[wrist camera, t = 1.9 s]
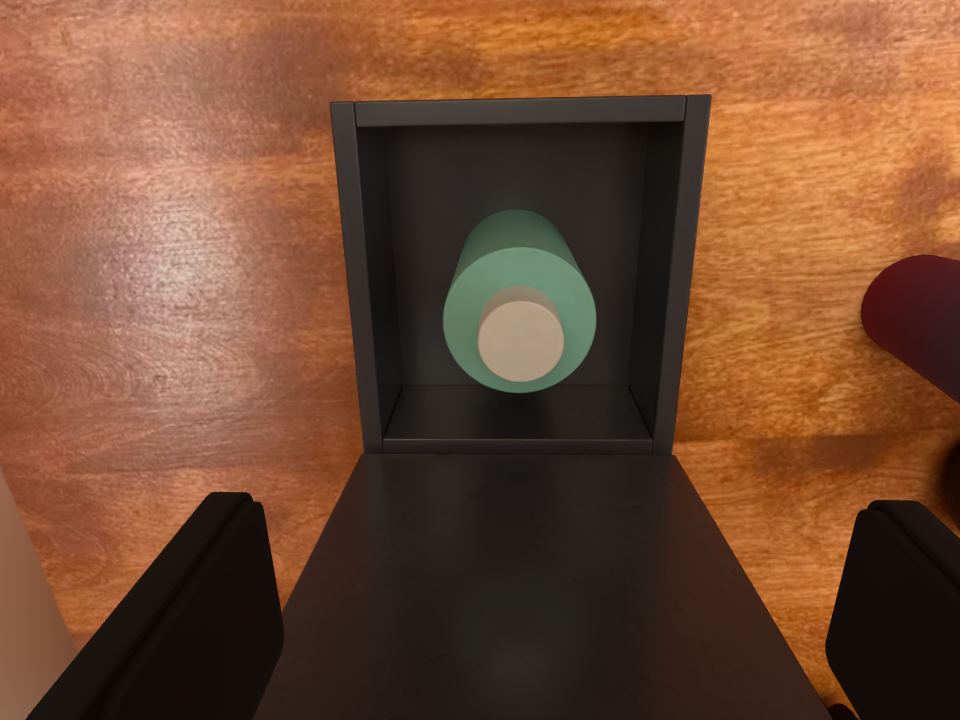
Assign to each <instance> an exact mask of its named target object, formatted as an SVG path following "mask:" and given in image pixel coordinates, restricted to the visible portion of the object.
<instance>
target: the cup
mask: <svg viewBox="0 0 960 720" xmlns="http://www.w3.org/2000/svg"><path fill="white" fill-rule="evenodd" d="M861 315H862V322H863V325H864V328H865V330H866V332H867V333H868V335H869V336H870V338H871V339H873V340H874V341H875V342H876V343H878V344H879V345H880V346H882V347H883V348H884V349H886V350H887V351H888V352H890V353H891V354H893V355H894V356H895V357H897V358H898V359H899V360H901V361H902V362H903V363H905V364H906V365H907V366H909V367H910V368H912V369H913V370H914V371H916V372H917V373H918V374H920V375H921V376H922V377H924V378H925V379H927V380H928V381H929V382H931V383H932V384H933V385H935V386H936V387H937V388H939V389H940V390H942V391H943V392H944V393H946V394H947V395H948V396H950V397H951V398H952V399H954V400H955V401H957V402H958V403H959V404H960V261H958V260H953V259H948V258H943V257H939V256H934V255H918V256H912V257H909V258H906V259H903V260H900V261H898V262H896V263H894V264H892V265H891V266H890V267H888V268H887V269H885V270H884V271H883V272H882V273H881V274H880V275H879V276H878V277H877V278H876V279H875V280H874V281H873V283H872V284H871V286H870V287H869V289H868V291H867V293H866V295H865V297H864V301H863V304H862V314H861Z"/></svg>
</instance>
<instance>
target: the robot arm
mask: <svg viewBox="0 0 960 720" xmlns="http://www.w3.org/2000/svg"><path fill="white" fill-rule="evenodd" d="M283 644H284V625H283V619H282V613H281V607H280V601H279V596H278V590H277V584H276V578H275V572H274V566H273V561H272V555H271V549H270V543H269V537H268V532H267V526H266V520H265V514H264V509H263V506H262V504H261V503H260V502H253V498H252V497H251V495H250V494H249V493H247V492H212V493H210V494H209V495H208V496H206V498H205V499H204V500H203V501H202V503H201V504H200V505H199V506H198V507H197V509H196V510H195V511H194V512H193V514H192V515H191V516H190V517H189V519H188V520H187V521H186V522H185V523H184V525H183V526H182V527H181V528H180V530H179V531H178V532H177V533H176V535H175V536H174V537H173V538H172V539H171V541H170V542H169V543H168V544H167V546H166V547H165V548H164V549H163V550H162V552H161V553H160V554H159V555H158V557H157V558H156V559H155V560H154V562H153V563H152V564H151V565H150V566H149V568H148V569H147V570H146V571H145V573H144V574H143V575H142V576H141V578H140V579H139V580H138V581H137V582H136V584H135V585H134V586H133V587H132V589H131V590H130V591H129V592H128V594H127V595H126V596H125V597H124V598H123V600H122V601H121V602H120V603H119V605H118V606H117V607H116V608H115V609H114V611H113V612H112V613H111V614H110V616H109V617H108V618H107V619H106V621H105V622H104V623H103V624H102V625H101V627H100V628H99V629H98V630H97V632H96V633H95V634H94V635H93V637H92V638H91V639H90V640H89V641H88V643H87V644H86V645H85V646H84V648H83V649H82V650H81V651H80V652H79V654H78V655H77V656H76V657H75V659H74V660H73V661H72V662H71V664H70V665H69V666H68V667H67V668H66V670H65V671H64V672H63V673H62V675H61V676H60V677H59V678H58V680H57V681H56V682H55V683H54V684H53V686H52V687H51V688H50V689H49V691H48V692H47V693H46V694H45V695H44V697H43V698H42V699H41V700H40V702H39V703H38V704H37V705H36V707H35V708H34V709H33V710H32V712H31V713H30V714H29V715H28V717H27V718H26V720H253V718H254V715H255V713H256V711H257V708H258V706H259V704H260V702H261V699H262V697H263V695H264V692H265V690H266V688H267V685H268V683H269V681H270V678H271V676H272V674H273V671H274V669H275V667H276V664H277V662H278V660H279V658H280V655H281V652H282V649H283ZM825 649H826V656H827V660H828V663H829V666H830V668H831V670H832V672H833V673H834V675H835V677H836V678H837V680H838V682H839V684H840V685H841V687H842V689H843V690H844V692H845V694H846V695H847V697H848V699H849V701H850V702H851V704H852V706H853V707H854V709H855V711H856V712H857V714H858V716H859V718H860V719H861V720H960V538H959V537H958V536H957V535H955V534H954V533H953V532H952V531H951V530H950V529H949V528H948V527H947V526H946V525H945V524H944V523H942V522H941V521H940V520H939V519H938V518H937V517H936V516H935V515H934V514H933V513H932V512H931V511H929V510H928V509H927V508H926V507H925V506H924V505H923V504H921V503H920V502H918V501H913V500H875V501H873V502H871V503H870V504H869V506H868V508H867V509H864V510H861V511H860V512H859V513H858V515H857V517H856V521H855V525H854V529H853V533H852V537H851V541H850V545H849V549H848V553H847V557H846V561H845V565H844V569H843V573H842V578H841V582H840V586H839V590H838V594H837V598H836V602H835V606H834V610H833V614H832V618H831V622H830V626H829V630H828V634H827V639H826V644H825Z"/></svg>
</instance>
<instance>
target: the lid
mask: <svg viewBox="0 0 960 720" xmlns="http://www.w3.org/2000/svg"><path fill="white" fill-rule="evenodd" d="M282 619H283V625H284V644H283V649H282V652H281V655H280V658H279V660H278V662H277V664H276V667H275V669H274V671H273V674H272V676H271V678H270V681H269V683H268V685H267V688H266V690H265V692H264V695H263V697H262V699H261V702H260V704H259V706H258V708H257V711H256V713H255V715H254V718H253V720H833V719H832V718H831V716H830V714H829V712H828V711H827V709H826V707H825V706H824V704H823V702H822V701H821V699H820V697H819V696H818V694H817V692H816V691H815V689H814V687H813V686H812V684H811V682H810V681H809V679H808V677H807V676H806V674H805V672H804V671H803V669H802V667H801V665H800V664H799V662H798V660H797V659H796V657H795V655H794V654H793V652H792V650H791V649H790V647H789V645H788V644H787V642H786V640H785V639H784V637H783V635H782V634H781V632H780V630H779V629H778V627H777V625H776V624H775V622H774V620H773V618H772V617H771V615H770V613H769V612H768V610H767V608H766V607H765V605H764V603H763V602H762V600H761V598H760V597H759V595H758V593H757V592H756V590H755V588H754V587H753V585H752V583H751V582H750V580H749V578H748V577H747V575H746V573H745V571H744V570H743V568H742V566H741V565H740V563H739V561H738V560H737V558H736V556H735V555H734V553H733V551H732V550H731V548H730V546H729V545H728V543H727V541H726V540H725V538H724V536H723V535H722V533H721V531H720V530H719V528H718V526H717V524H716V523H715V521H714V519H713V518H712V516H711V514H710V513H709V511H708V509H707V508H706V506H705V504H704V503H703V501H702V499H701V498H700V496H699V494H698V493H697V491H696V489H695V488H694V486H693V484H692V483H691V481H690V479H689V477H688V476H687V474H686V472H685V471H684V469H683V467H682V466H681V464H680V462H679V461H678V459H677V457H676V456H675V455H524V454H361V456H360V458H359V460H358V462H357V464H356V466H355V468H354V470H353V472H352V474H351V476H350V478H349V480H348V482H347V484H346V486H345V488H344V490H343V492H342V494H341V496H340V498H339V500H338V502H337V504H336V506H335V508H334V510H333V512H332V514H331V515H330V517H329V519H328V521H327V523H326V525H325V527H324V529H323V531H322V533H321V535H320V537H319V539H318V541H317V543H316V545H315V547H314V549H313V551H312V553H311V555H310V557H309V559H308V561H307V563H306V565H305V567H304V569H303V571H302V573H301V575H300V577H299V579H298V581H297V583H296V585H295V587H294V589H293V591H292V593H291V595H290V597H289V599H288V601H287V603H286V605H285V607H284V609H283V611H282Z"/></svg>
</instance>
